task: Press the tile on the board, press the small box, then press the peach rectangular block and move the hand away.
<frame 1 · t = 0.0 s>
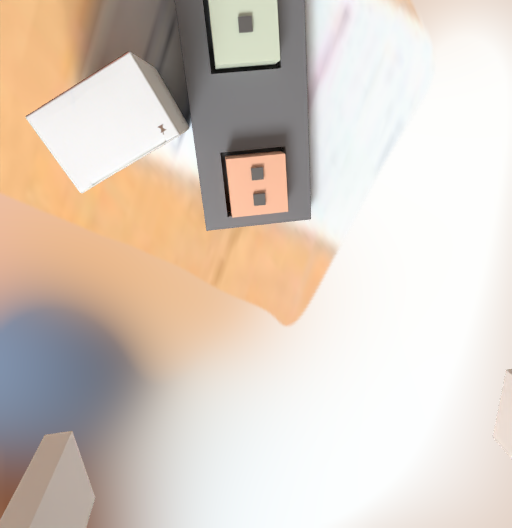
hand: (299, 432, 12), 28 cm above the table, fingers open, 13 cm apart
peach rectangular block 2: (256, 183, 34), point 3 cm above the table, slide at 0.0 cm
board: (247, 111, 34), on the table
small box: (135, 121, 34), on the table
tile 1: (243, 28, 30), point 3 cm above the table, slide at 0.0 cm
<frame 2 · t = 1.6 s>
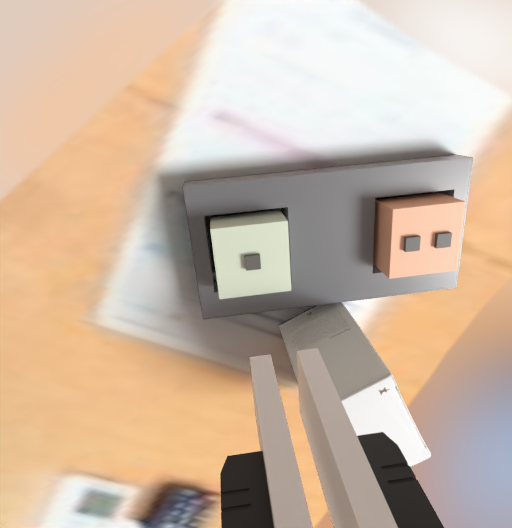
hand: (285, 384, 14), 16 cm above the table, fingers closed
peach rectangular block 2: (416, 235, 27), point 3 cm above the table, slide at 0.0 cm
board: (324, 233, 29), on the table
small box: (325, 341, 33), on the table
tile 1: (250, 254, 27), point 3 cm above the table, slide at 0.0 cm
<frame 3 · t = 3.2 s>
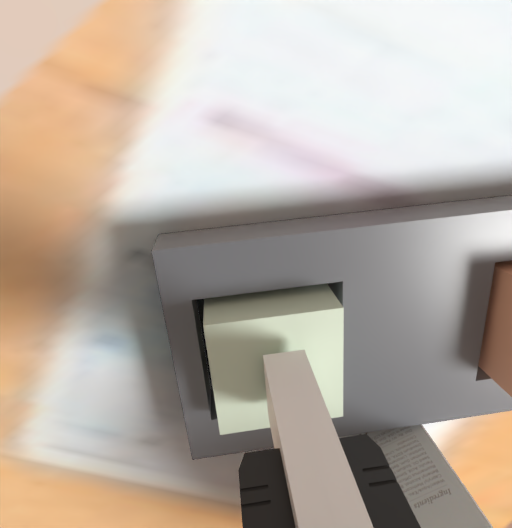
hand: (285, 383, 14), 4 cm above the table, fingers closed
board: (393, 312, 18), on the table
small box: (382, 463, 22), on the table
tile 1: (273, 353, 16), point 2 cm above the table, slide at 0.7 cm, touching gripper
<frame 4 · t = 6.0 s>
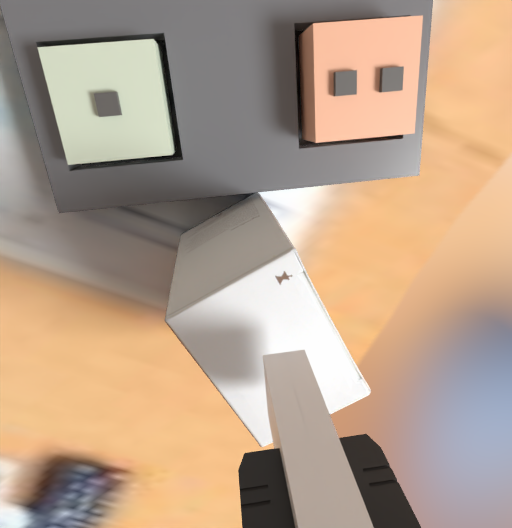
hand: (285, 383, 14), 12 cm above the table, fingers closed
peach rectangular block 2: (356, 83, 19), point 3 cm above the table, slide at 0.0 cm
board: (233, 96, 21), on the table
small box: (249, 262, 25), on the table
tile 1: (115, 105, 19), point 2 cm above the table, slide at 0.9 cm
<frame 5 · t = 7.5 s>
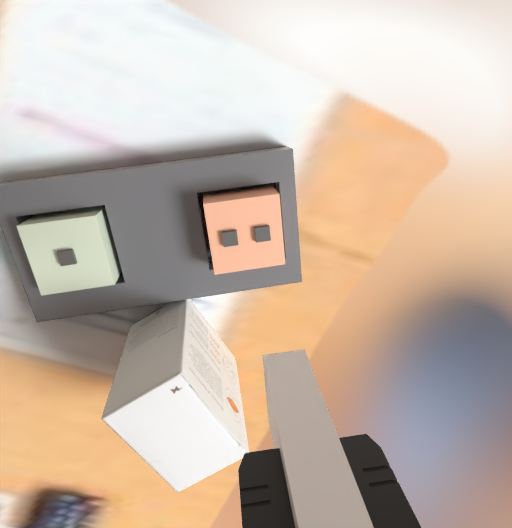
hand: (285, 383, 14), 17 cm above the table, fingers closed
peach rectangular block 2: (244, 229, 27), point 3 cm above the table, slide at 0.0 cm
board: (162, 231, 29), on the table
small box: (185, 340, 33), on the table
tile 1: (74, 250, 27), point 2 cm above the table, slide at 0.9 cm
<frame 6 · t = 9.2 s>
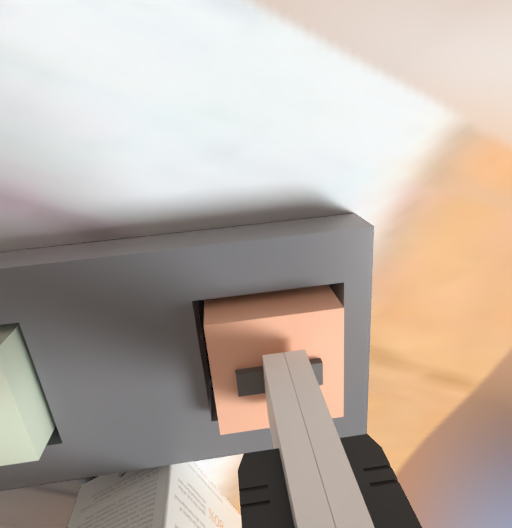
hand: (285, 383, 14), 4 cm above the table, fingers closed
peach rectangular block 2: (273, 353, 16), point 2 cm above the table, slide at 0.8 cm, touching gripper
board: (133, 347, 17), on the table
small box: (171, 499, 21), on the table
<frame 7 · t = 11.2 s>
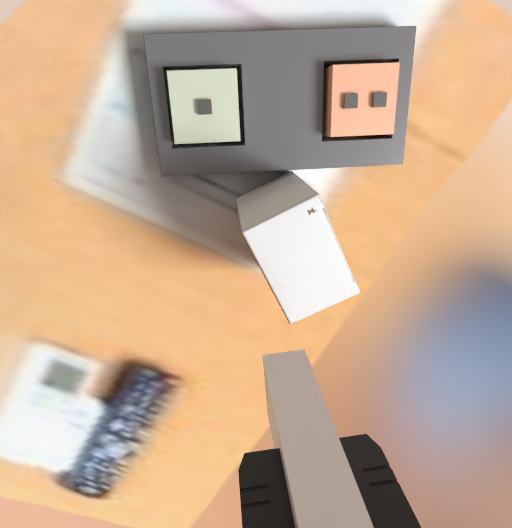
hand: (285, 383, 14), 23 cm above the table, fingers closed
peach rectangular block 2: (358, 101, 30), point 2 cm above the table, slide at 0.8 cm
board: (279, 105, 31), on the table
small box: (281, 222, 35), on the table
tile 1: (205, 107, 29), point 2 cm above the table, slide at 0.9 cm
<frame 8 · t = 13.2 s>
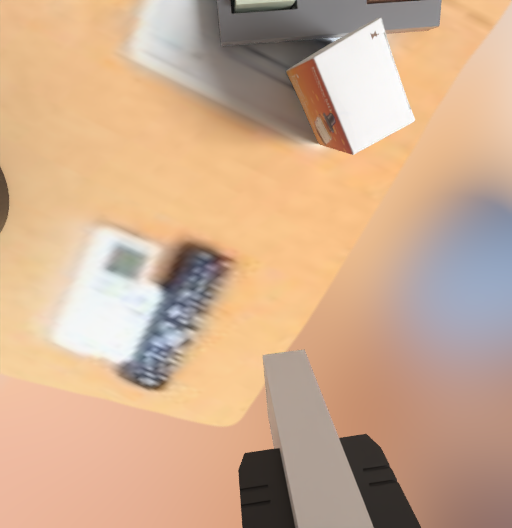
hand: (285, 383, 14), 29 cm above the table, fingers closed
small box: (326, 95, 38), on the table
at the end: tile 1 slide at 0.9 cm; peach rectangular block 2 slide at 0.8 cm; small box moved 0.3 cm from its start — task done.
